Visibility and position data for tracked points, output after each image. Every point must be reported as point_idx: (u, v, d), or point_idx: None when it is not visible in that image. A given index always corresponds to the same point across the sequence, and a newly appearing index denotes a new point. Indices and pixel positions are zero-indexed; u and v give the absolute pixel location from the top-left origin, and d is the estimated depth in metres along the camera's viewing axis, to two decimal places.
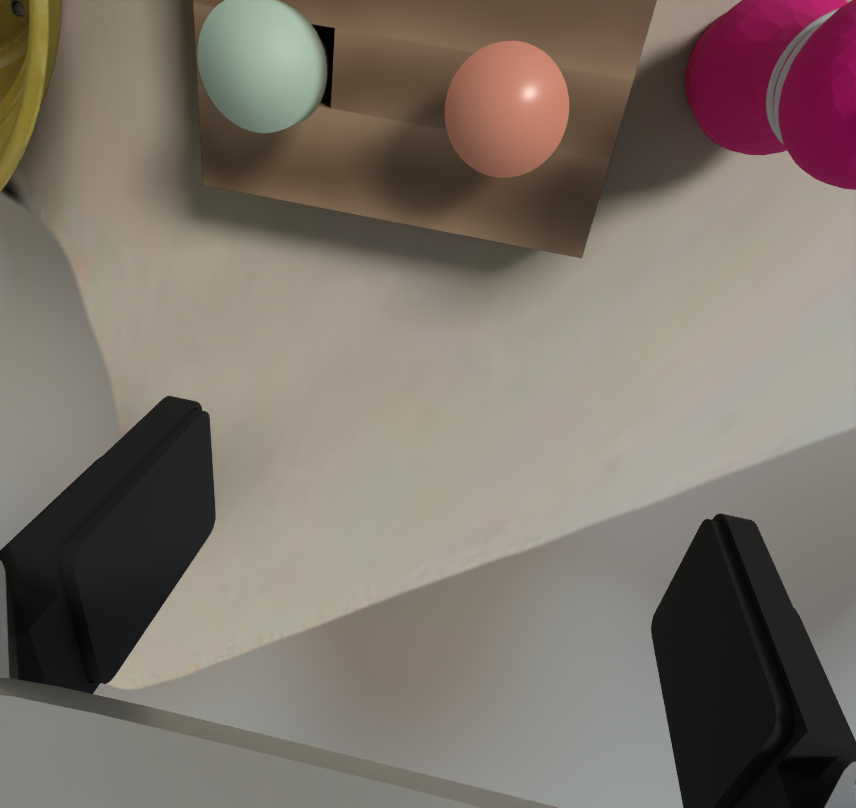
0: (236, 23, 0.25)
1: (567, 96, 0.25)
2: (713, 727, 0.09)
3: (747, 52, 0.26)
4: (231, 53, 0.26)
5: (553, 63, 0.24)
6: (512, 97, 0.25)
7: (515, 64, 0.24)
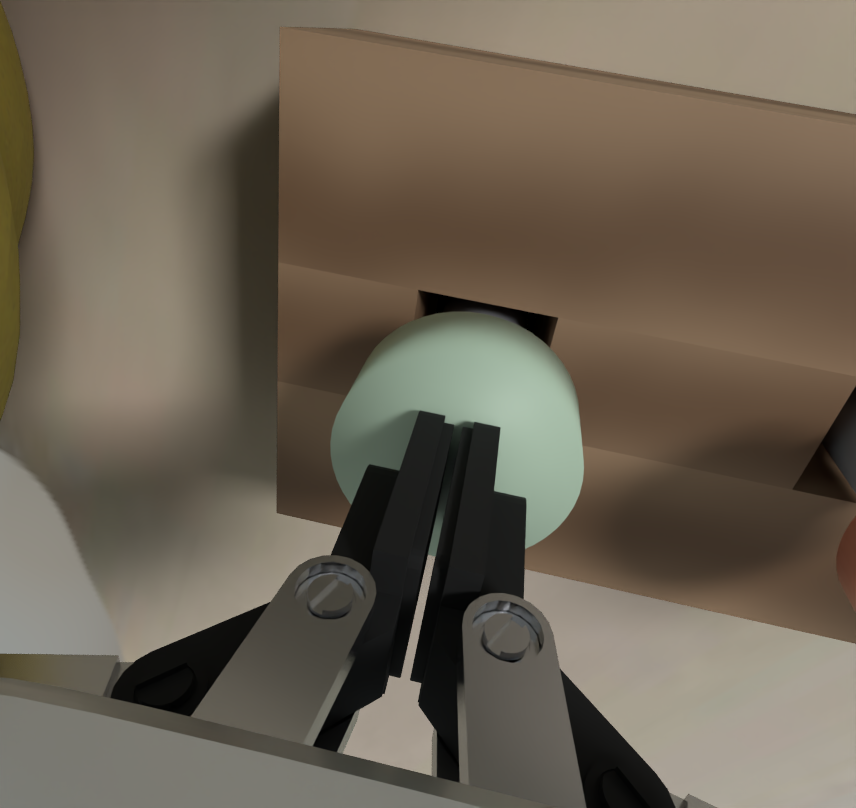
0: (425, 397, 0.12)
1: None
2: None
3: None
4: (405, 442, 0.12)
5: None
6: None
7: None
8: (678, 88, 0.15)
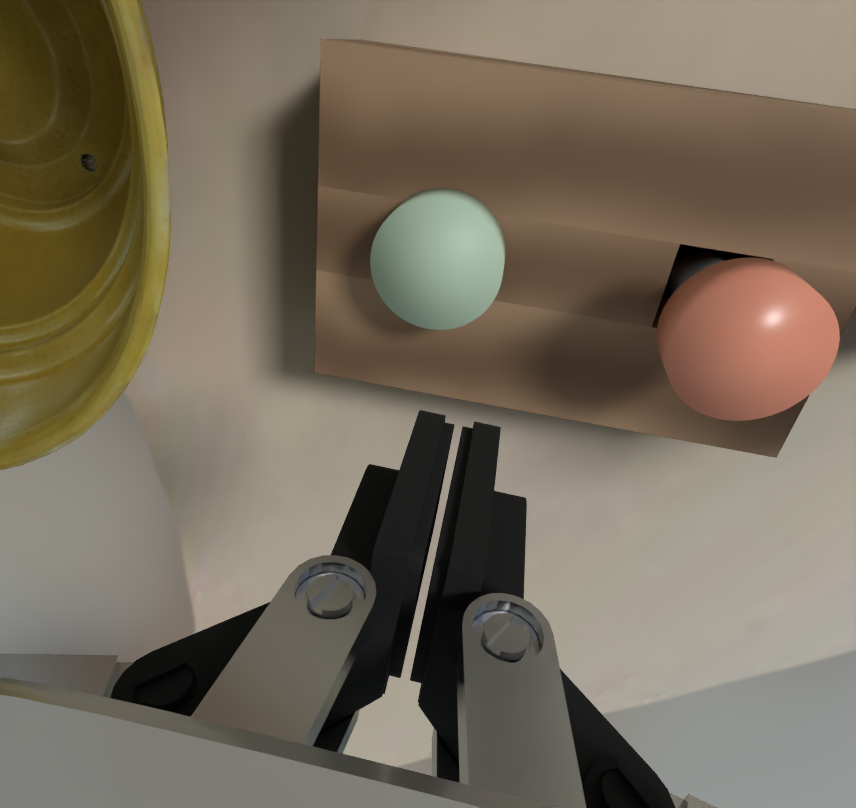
0: (419, 225, 0.23)
1: (837, 338, 0.19)
2: None
3: None
4: (410, 253, 0.23)
5: (825, 302, 0.19)
6: (762, 337, 0.19)
7: (773, 302, 0.19)
8: (563, 70, 0.24)
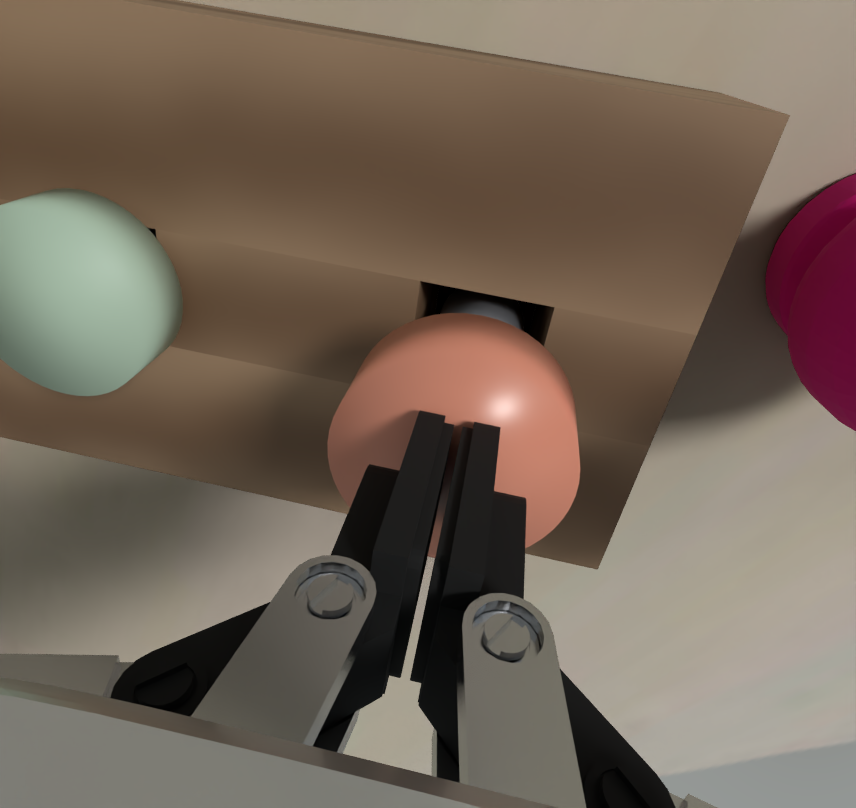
0: (5, 246, 0.15)
1: (576, 453, 0.12)
2: None
3: None
4: (6, 287, 0.15)
5: (546, 399, 0.11)
6: None
7: (466, 395, 0.11)
8: (260, 18, 0.16)
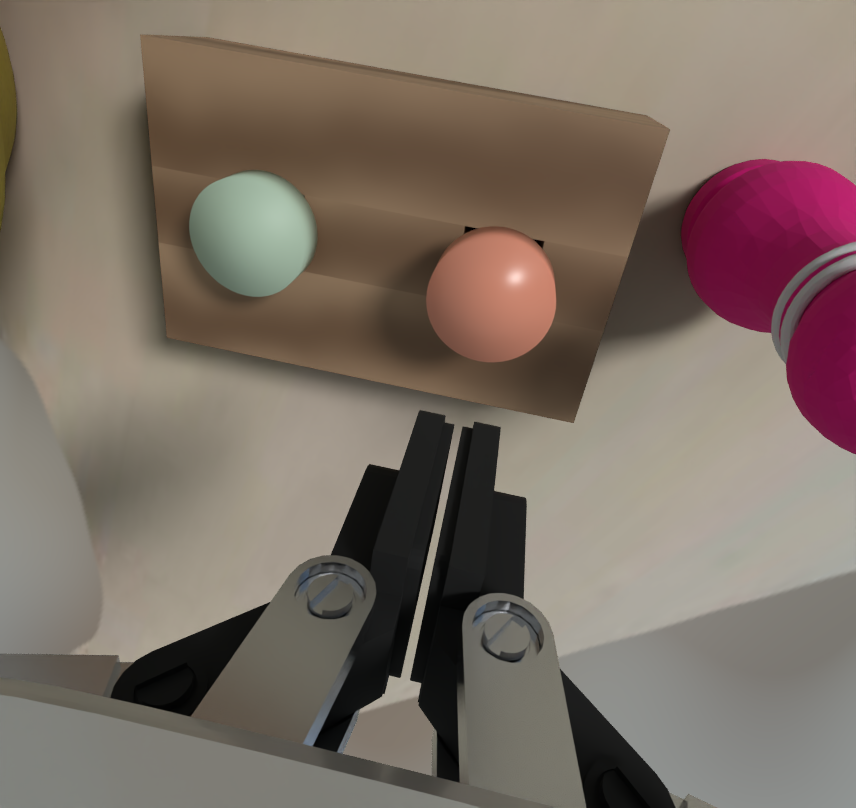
0: (227, 201, 0.26)
1: (554, 292, 0.24)
2: None
3: (748, 247, 0.24)
4: (222, 227, 0.26)
5: (539, 261, 0.23)
6: (496, 290, 0.24)
7: (499, 260, 0.23)
8: (369, 70, 0.27)
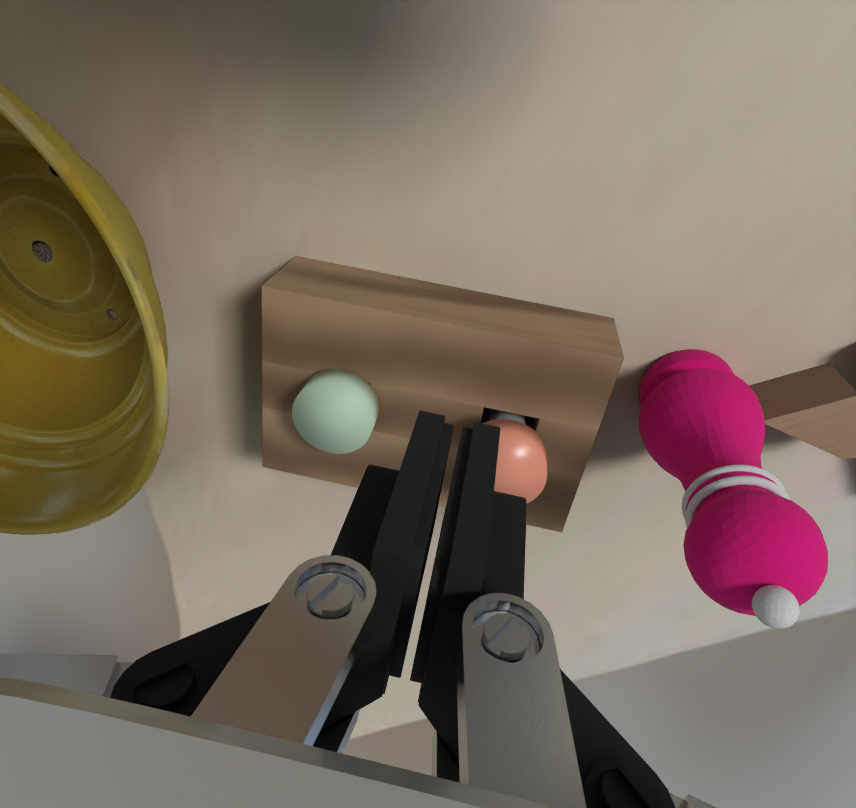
0: (320, 397, 0.37)
1: (545, 469, 0.35)
2: None
3: (675, 438, 0.35)
4: (315, 411, 0.38)
5: (535, 451, 0.35)
6: (507, 466, 0.35)
7: (508, 449, 0.35)
8: (416, 295, 0.39)
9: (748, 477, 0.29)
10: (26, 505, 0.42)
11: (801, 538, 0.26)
